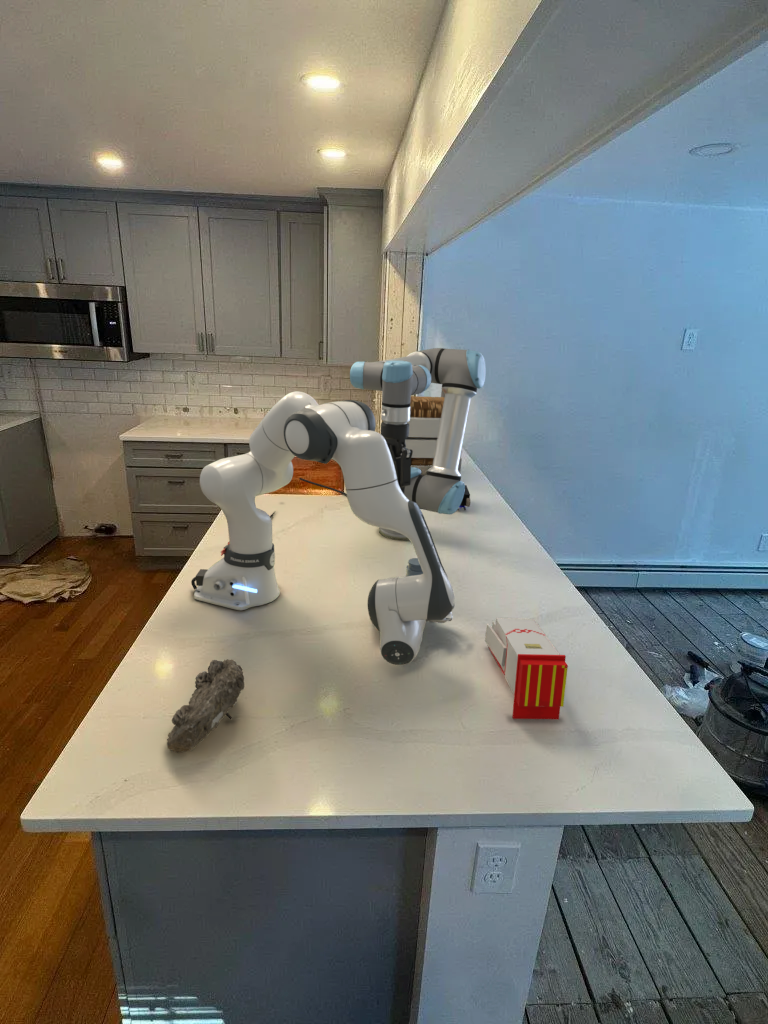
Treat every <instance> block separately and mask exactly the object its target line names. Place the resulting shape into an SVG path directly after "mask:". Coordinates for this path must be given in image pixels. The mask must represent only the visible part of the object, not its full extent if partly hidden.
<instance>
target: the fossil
mask: <svg viewBox="0 0 768 1024" xmlns="http://www.w3.org/2000/svg"><path fill="white" fill-rule="evenodd" d="M243 670H244V669H243V667H242V665H240V664H237V662H236V661H235V660H234V659H232V658H231V659H227V658H226V659H224V660H223V661H222V660H217V659H212V660H211V661H210V663H209V665H208V666H207V671H201V672H199V673H198V674H197V675H196V676H195V680H194V684H195V685H194V687H195V689H194V690H193V693H192V694H191V697H190V698H189V700H188V704H184V705H182V706H181V707H180V709H177V710H176V711H175V713H174V715H173V716H172V718H171V723H172V724H173V727H172V730H171V731H170V732H168V734H167V738H166V741H167V742H166V745H167V749H168V750H169V751H173V752H174V753H176V754H178V753H182V752H188V751H189V752H192V751H193V750H195V748H196V747H197V746H199V744H200V743H201V742H203V741H204V740H205V739H206V738H207V737H208V736H209V735H210V734H211V733H212V732H214V730H215V729H217V727H218V726H219V724H220V722H221V721H222V720H223V719H224V718H225V716H226V717H227V719H229V720H233V717H232V715H230V714H229V710H230V709H231V708H234V706H235V704H236V703H237V702H238V699H239V697H240V695H241V693H242V691H243V690H245V689H244V688H245V675H244V671H243Z"/></svg>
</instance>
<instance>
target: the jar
mask: <svg viewBox="0 0 768 1024" xmlns="http://www.w3.org/2000/svg"><path fill="white" fill-rule="evenodd" d="M405 572H406V573H405V577H406V576H414V575H421V574H423V571H422V568H421V566H420V563H419V560H418V558H417V557H412V558H409V559H408V561H407V565H406V568H405Z"/></svg>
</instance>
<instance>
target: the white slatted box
mask: <svg viewBox="0 0 768 1024" xmlns="http://www.w3.org/2000/svg"><path fill="white" fill-rule="evenodd" d="M440 393H441V394H440V396H415V395H411V402H410V421H409V422H407V423H409V436H408V437H407V438H406V439H405V443H406V448H407V449H408V450H410V449H412V451H413V453H412V457H411V467H417V466H418V467H431V466H432V465H433V460H434V454H435V449H436V443H437V437H438V432H439V426H440V420H441V415H442V409H443V403H444V398H445V393H444V392H443V390H442V389H441V392H440ZM462 453H463V448H462V449H461V455H460V460H459V466H458V472H459V473H460V475H462V474H461V472H462V461H463V460H462ZM398 458H400V457H398ZM393 463H394V462H393Z"/></svg>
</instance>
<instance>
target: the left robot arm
mask: <svg viewBox="0 0 768 1024" xmlns="http://www.w3.org/2000/svg"><path fill="white" fill-rule="evenodd" d="M248 444H249V450H250V451H248V452H246V453H243V454H239V455H234V456H228V457H224V458H220V459H217V460H215V461H212V462H211V463H209V464H207V465H205V466H204V467H203V468H202V469H201V471H200V475H199V487H200V490H201V492H202V494H203V495H204V497H205V498H206V499H207V500H208V501H209V502H211V503H213V504H215V505H216V506H218V508H219V509H220V510H221V511H222V512H223V514H224V516H225V519H226V523H227V530H228V531H227V532H228V540H229V541H227V544H226V545H225V546H224V547H223V549H222V550H221V551H220V556H223V557H222V558H220V559H219V560H218V561H216V562H215V563H214V564H212V565H211V566H210V567H209V568H208V569H207V568H206V569H204V568H203V569H202V568H200V569H199V570H198V572H197V573H196V575H195V576H194V577H193V578H192V579H191V581H190V584H191V586H192V589H193V590H194V595H193V598H194V599H195V600H196V601H200V602H205V603H207V604H211V605H212V604H213V605H216V606H220V607H222V608H223V607H224V608H228V609H232V610H235V611H245V610H247V609H251V608H253V607H258V606H264V605H267V604H270V603H271V602H273V601H275V600H276V599H277V598H278V597H279V596H280V594H281V589H280V587H279V585H278V584H279V583H278V581H277V577H276V570H275V564H276V553H275V552H276V551H275V544H274V543H273V519H272V518H270V516H271V515H269V513H268V512H266V511H265V510H263V509H261V508H258V507H257V505H256V497H258V496H259V497H260V496H262V495H266V494H270V493H274V492H276V491H278V490H280V489H282V488H284V487H285V486H287V485H288V484H291V483H290V482H291V481H292V479H293V476H294V464H293V462H292V461H293V460H294V458H295V457H296V458H298V459H300V460H304V461H311V462H318V463H320V464H325V465H326V464H328V463H329V462H330V461H331V460H333V461H334V462H336V464H338V465H339V467H340V470H341V473H342V478H343V482H344V488H345V493H346V494H347V496H346V497H347V501H348V504H349V507H350V509H351V512H352V513H353V515H354V516H355V517H356V518H357V519H359V520H360V521H361V522H363V523H365V524H367V525H369V526H372V527H376V528H378V529H379V528H384V529H389V530H392V531H396V532H398V533H401V534H403V535H404V536H406V537H407V538H408V539H409V540H408V541H410V543H411V544H412V547H413V550H414V553H415V555H416V558H418V560H419V563H420V566H421V568H422V571H423V574H421V575H414V576H406V575H405V576H395V577H386V578H380V579H377V580H376V581H374V583H373V585H372V586H371V588H370V590H369V592H368V596H367V612H368V616H369V620H370V622H371V623H372V625H373V626H374V627H375V629H376V630H377V631H378V632H379V636H380V637H379V639H380V640H379V651H380V655H381V658H383V659H384V661H385V662H387V663H388V664H391V665H394V666H401V665H402V666H403V665H408V664H410V663H411V662H412V661H414V659H415V658H416V657H417V655H418V653H419V651H420V648H421V645H422V641H423V637H424V635H423V634H424V633H423V632H424V631H425V627H426V624H427V622H430V623H438V624H444V623H447V622H451V621H453V616H454V615H453V610H454V608H455V603H456V602H455V601H456V596H455V592H454V587H453V585H452V582H451V580H450V579H449V577H448V575H447V572H446V570H445V568H444V566H443V563H442V560H441V558H440V554H439V552H438V550H437V547H436V545H435V541H434V539H433V536H432V534H431V531H430V529H429V526H428V523H427V521H426V519H425V516H424V513H423V511H422V509H420V508H419V506H418V505H417V504H416V503H415V502H413V501H410V500H408V499H407V498H406V496H405V495H404V494H403V492H402V491H401V489H400V486H399V484H398V480H397V475H396V470H395V466H394V463H393V459H392V456H391V453H390V450H389V448H388V445H387V443H386V440H385V438H384V437H383V436H382V435H381V432H380V433H379V432H378V431H376V418H375V414H374V412H373V410H372V409H371V407H370V406H368V404H366V403H364V402H363V401H360V400H354V399H345V400H339V401H331V402H325V403H322V404H319V403H318V402H317V400H316V399H315V398H314V397H312V396H311V395H310V394H308V393H307V392H305V391H304V392H303V391H296V390H295V391H291V392H289V393H287V394H286V395H284V396H282V398H280V399H279V400H278V401H276V403H275V404H274V405H273V406H272V407H271V408H270V409H269V410H268V411H267V412H266V414H265V415H264V416H263V417H262V419H261V420H260V422H259V424H258V425H257V426H256V427H255V429H254V430H253V432H252V433H251V434H250V437H249V439H248Z"/></svg>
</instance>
